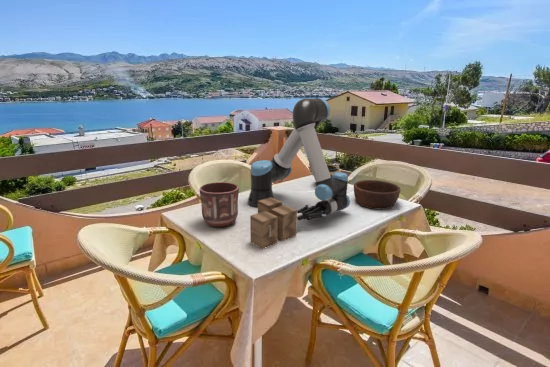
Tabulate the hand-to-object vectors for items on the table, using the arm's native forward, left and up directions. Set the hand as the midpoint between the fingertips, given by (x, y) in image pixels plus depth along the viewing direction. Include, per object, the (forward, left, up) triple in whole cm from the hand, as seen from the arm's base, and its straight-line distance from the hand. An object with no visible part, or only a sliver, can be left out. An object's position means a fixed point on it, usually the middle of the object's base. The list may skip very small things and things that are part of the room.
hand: (291, 219), depth 141 cm
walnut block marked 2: (-11, +5, -6) cm, 14 cm away
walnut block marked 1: (-9, -13, -6) cm, 17 cm away
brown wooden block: (-3, -3, -6) cm, 8 cm away
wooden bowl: (+39, +50, -6) cm, 64 cm away
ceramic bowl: (+9, +76, -6) cm, 77 cm away
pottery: (-34, +1, -6) cm, 35 cm away
